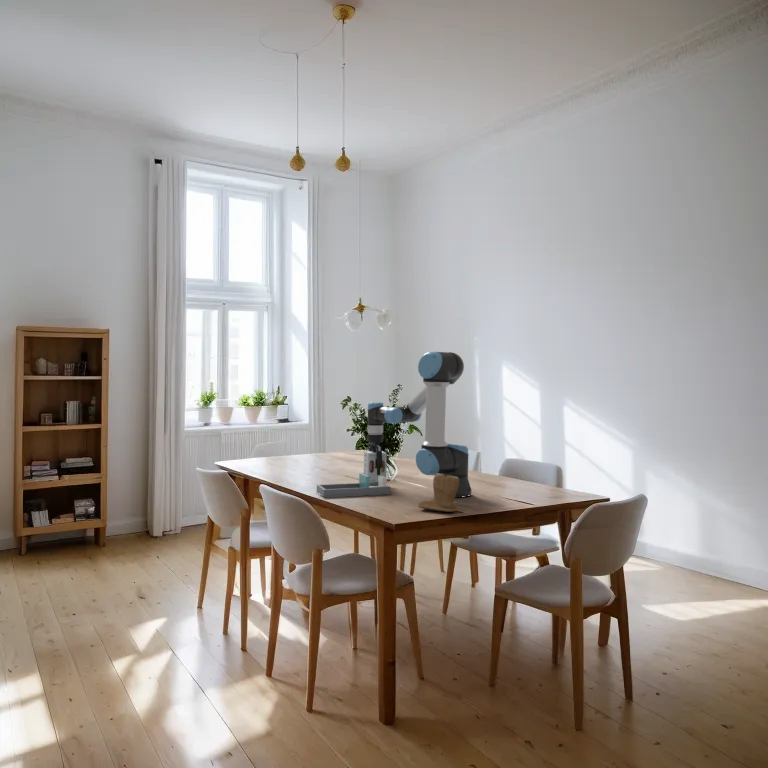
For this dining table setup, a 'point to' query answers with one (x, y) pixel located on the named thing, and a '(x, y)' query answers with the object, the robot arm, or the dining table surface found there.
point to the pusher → (365, 481)
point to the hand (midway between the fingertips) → (374, 479)
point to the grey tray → (351, 490)
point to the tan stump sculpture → (442, 494)
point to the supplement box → (373, 465)
